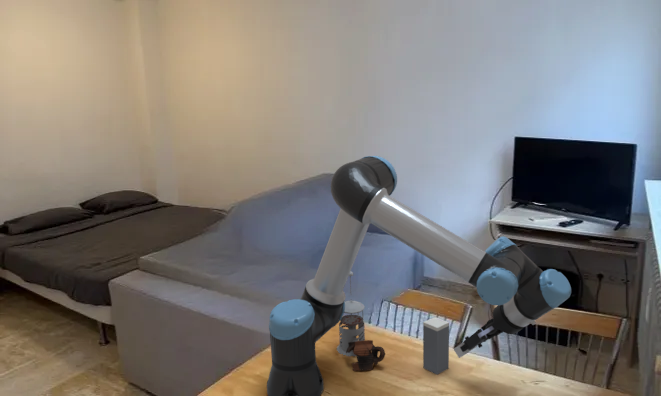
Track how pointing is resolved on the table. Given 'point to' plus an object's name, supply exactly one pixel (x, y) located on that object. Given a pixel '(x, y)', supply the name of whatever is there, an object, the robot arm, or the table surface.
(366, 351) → the pottery mug
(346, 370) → the table surface
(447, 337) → the grey rectangular block
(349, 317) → the french press
